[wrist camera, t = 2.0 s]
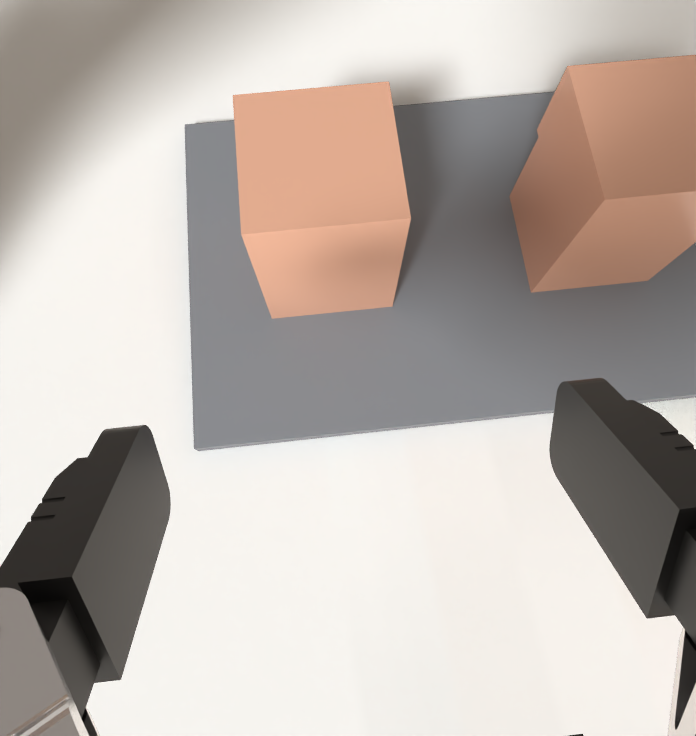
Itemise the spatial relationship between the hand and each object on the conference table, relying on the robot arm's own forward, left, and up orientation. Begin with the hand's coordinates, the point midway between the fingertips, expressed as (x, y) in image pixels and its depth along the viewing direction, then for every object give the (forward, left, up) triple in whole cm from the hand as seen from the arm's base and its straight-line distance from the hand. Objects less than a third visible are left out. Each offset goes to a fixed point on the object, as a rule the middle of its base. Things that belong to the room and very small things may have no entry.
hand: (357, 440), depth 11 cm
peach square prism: (0, +11, -14) cm, 18 cm away
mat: (+6, +11, -15) cm, 20 cm away
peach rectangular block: (+13, +11, -14) cm, 22 cm away
